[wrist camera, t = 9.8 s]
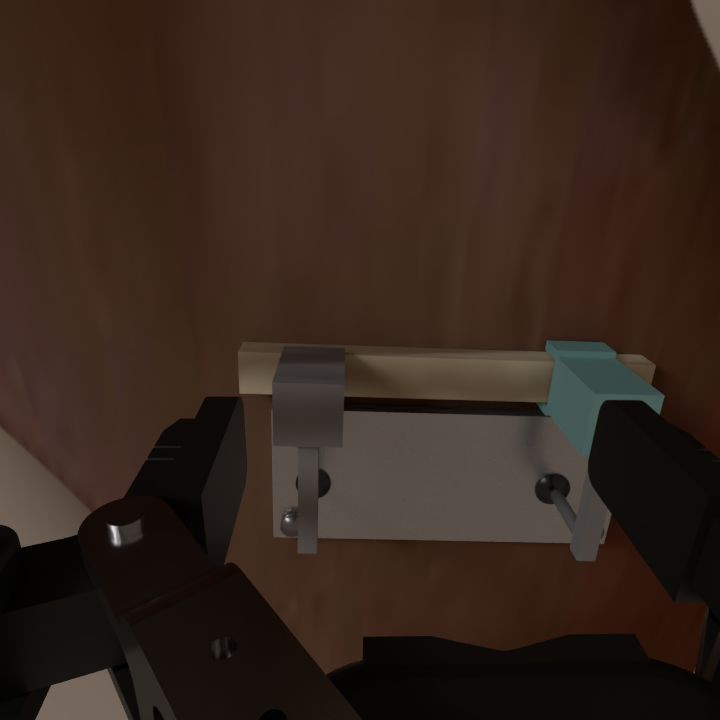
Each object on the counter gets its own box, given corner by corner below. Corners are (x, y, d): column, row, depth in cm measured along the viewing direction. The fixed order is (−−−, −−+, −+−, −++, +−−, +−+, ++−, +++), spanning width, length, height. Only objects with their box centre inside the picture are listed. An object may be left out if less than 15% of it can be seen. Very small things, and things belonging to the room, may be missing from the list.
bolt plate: (273, 401, 39) (269, 413, 37) (627, 411, 40) (640, 424, 38) (275, 527, 43) (272, 543, 41) (597, 533, 44) (607, 549, 42)
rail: (243, 334, 37) (217, 380, 30) (642, 348, 38) (714, 395, 31) (248, 483, 41) (226, 556, 34) (607, 491, 42) (663, 564, 35)
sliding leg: (546, 340, 38) (596, 387, 30) (603, 342, 38) (666, 389, 30) (520, 491, 42) (557, 564, 35) (570, 492, 42) (619, 565, 35)
